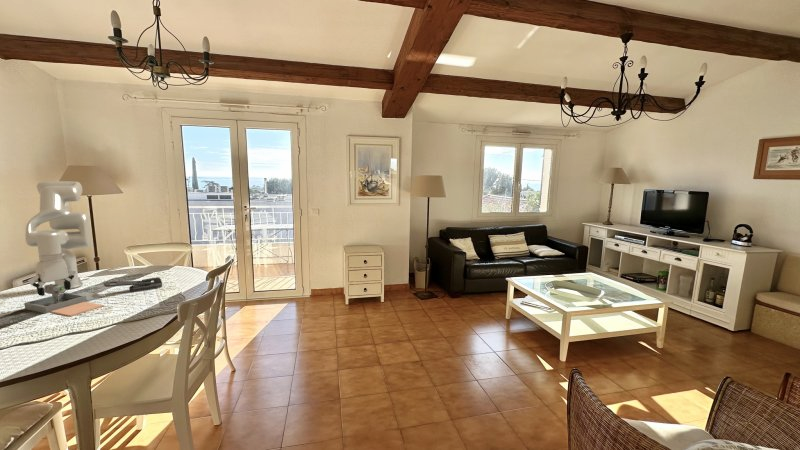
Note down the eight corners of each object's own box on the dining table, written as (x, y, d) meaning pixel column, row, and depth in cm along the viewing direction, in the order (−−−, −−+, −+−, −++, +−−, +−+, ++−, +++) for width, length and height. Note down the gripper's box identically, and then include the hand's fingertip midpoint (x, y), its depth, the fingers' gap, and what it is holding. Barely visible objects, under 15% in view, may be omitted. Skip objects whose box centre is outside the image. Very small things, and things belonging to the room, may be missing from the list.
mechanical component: (61, 307, 158) (58, 287, 157) (45, 305, 160) (42, 285, 159) (68, 305, 161) (66, 285, 160) (52, 303, 163) (50, 283, 162)
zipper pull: (103, 281, 178) (159, 273, 195) (104, 293, 178) (160, 284, 196) (104, 285, 171) (162, 276, 188) (105, 297, 172) (163, 287, 189)
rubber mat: (84, 302, 164) (84, 301, 164) (103, 306, 160) (103, 305, 160) (50, 312, 152) (50, 311, 152) (70, 316, 148) (70, 315, 148)
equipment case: (84, 293, 178) (84, 287, 177) (104, 296, 173) (104, 291, 173) (25, 309, 156) (24, 302, 155) (46, 313, 151) (45, 307, 151)
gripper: (68, 253, 167) (72, 286, 169) (20, 261, 150) (25, 297, 152) (78, 254, 164) (81, 287, 166) (31, 262, 148) (35, 298, 150)
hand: (55, 292), depth 159 cm, fingers open, 9 cm apart
